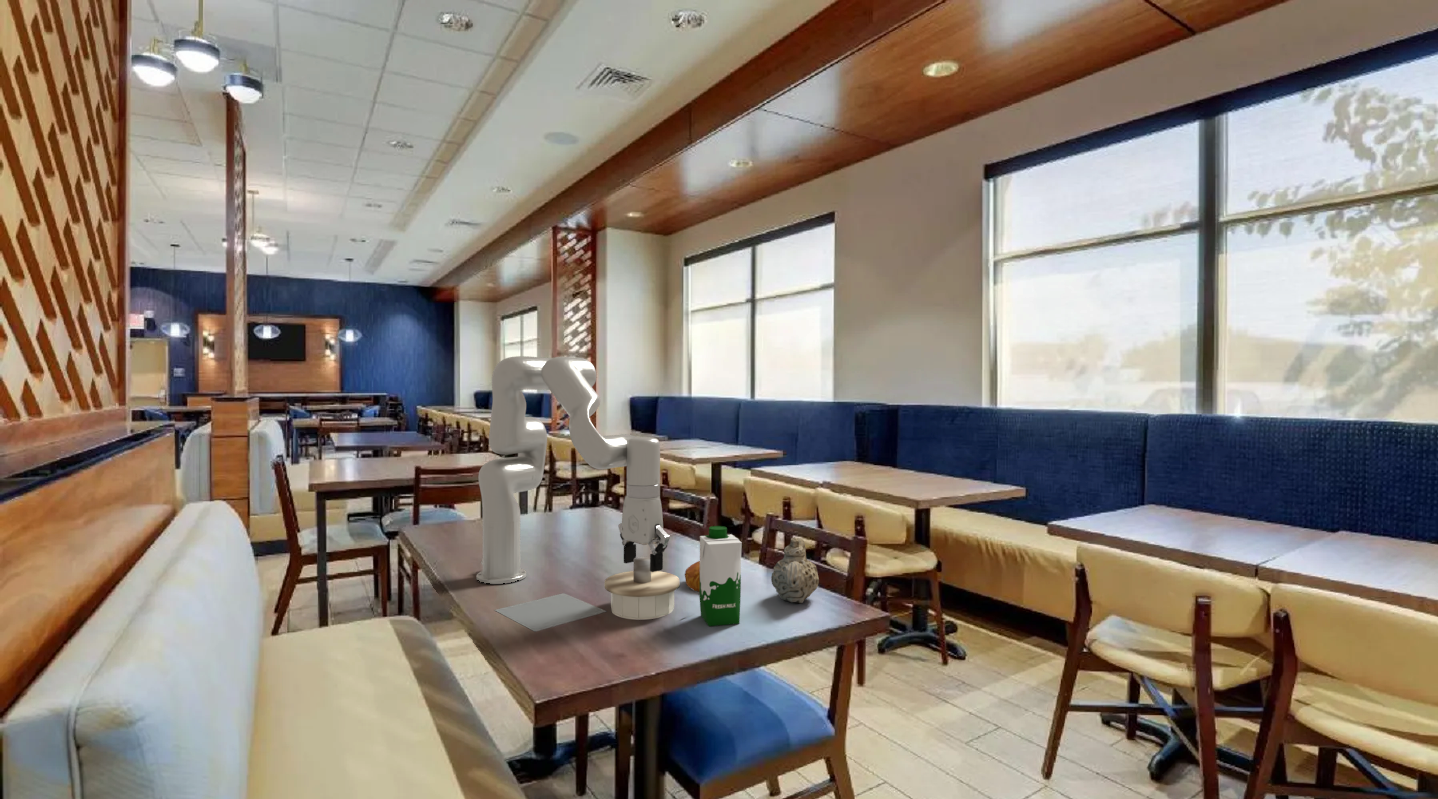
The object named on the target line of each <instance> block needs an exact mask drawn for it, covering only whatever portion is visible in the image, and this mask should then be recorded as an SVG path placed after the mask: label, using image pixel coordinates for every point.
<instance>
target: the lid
mask: <svg viewBox="0 0 1438 799" xmlns="http://www.w3.org/2000/svg"><path fill="white" fill-rule="evenodd" d="M678 588H680V578H679V577H678V576H677V575H675V574H672V573H669V572H665V571H662V570H660V571H656V572H651V571H650V556H638V557H637V556H636V558H634V562H633V570H631V571H623V572H619V573H615V574H612V575H610V576H608V577H607V578H606V579H605V580H604V589H605V591H607V592H608V593H610V594H611V593H613V594H616V595H621V596H629V597H649V596H658V595H663V594H667V593H670V592H673V591H674V592H675V591H677V589H678Z"/></svg>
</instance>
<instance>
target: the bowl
mask: <svg viewBox="0 0 1438 799" xmlns="http://www.w3.org/2000/svg"><path fill="white" fill-rule="evenodd" d="M610 607H611V612H612V614H613V615H615V616H617V617H619V618H622V619H627V620H637V621H639V620H640V621H641V620H642V621H643V620H652V619H653V620H654V619H658V618H661V617H666V616H668V615H669V614H671V613H672V612H673V611H674V608H675V591H673V592H670V593H667V594H663V595H658V596H649V597H629V596H621V595H616V594H613V593H610Z"/></svg>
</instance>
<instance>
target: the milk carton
mask: <svg viewBox="0 0 1438 799" xmlns="http://www.w3.org/2000/svg"><path fill="white" fill-rule="evenodd" d="M742 543H743V542H742V541H740V539H739V538H738V537H736V536H735V535H733V534H732V533H731V534H728V528H727V527H726V526H723V525H711V526H709V528H708V534H707V535H700V536H699V561H700V587H699V592H698V593H699V594H698V595H699V607H700V617H701V618H702V619H703V621H704V622H705V623H706V625H707V626H708V627H717V626H726V625H739V624H740V620H741V619H740V618H741V595H742V594H741V590H742V587H741V585H742V584H741V583H742V582H741V581H742V579H741V578H742V546H743V544H742Z"/></svg>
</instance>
